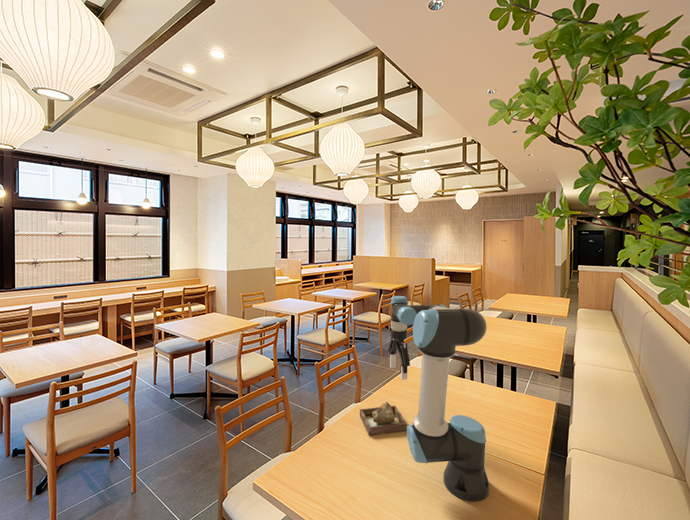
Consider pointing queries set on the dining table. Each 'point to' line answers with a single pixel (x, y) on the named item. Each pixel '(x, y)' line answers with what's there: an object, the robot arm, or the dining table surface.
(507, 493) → the dining table surface
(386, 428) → the brown wooden tray
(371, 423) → the pad
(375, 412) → the rock
